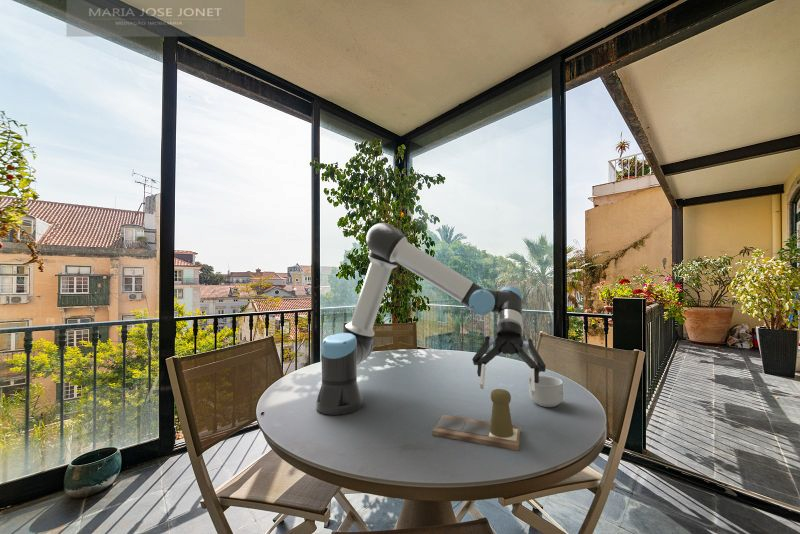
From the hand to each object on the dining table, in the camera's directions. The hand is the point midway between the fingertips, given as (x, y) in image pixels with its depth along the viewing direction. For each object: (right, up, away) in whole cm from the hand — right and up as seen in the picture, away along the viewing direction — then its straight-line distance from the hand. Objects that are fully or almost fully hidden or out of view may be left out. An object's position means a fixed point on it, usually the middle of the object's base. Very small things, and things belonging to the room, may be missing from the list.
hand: (506, 389), depth 88 cm
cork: (-2, -10, -3) cm, 11 cm away
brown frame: (-8, -12, -1) cm, 14 cm away
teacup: (+20, -12, +21) cm, 31 cm away
